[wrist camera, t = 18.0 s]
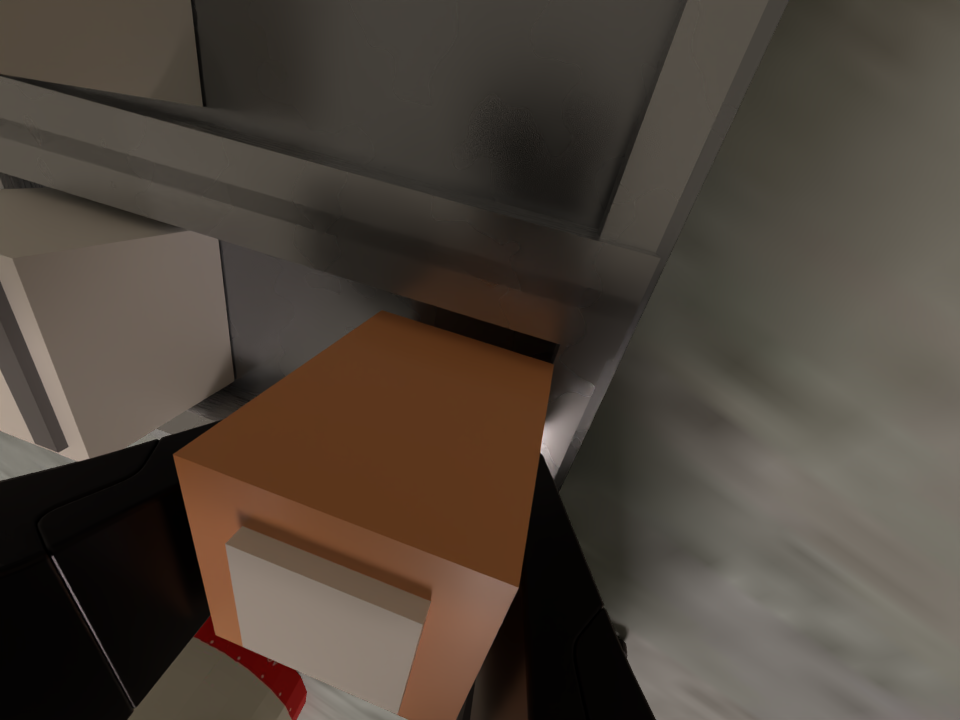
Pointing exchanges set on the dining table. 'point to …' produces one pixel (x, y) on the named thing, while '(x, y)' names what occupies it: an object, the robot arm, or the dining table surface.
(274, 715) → the kitchen timer
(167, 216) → the panel
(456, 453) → the orange box
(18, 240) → the block
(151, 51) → the block
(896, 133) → the dining table surface
